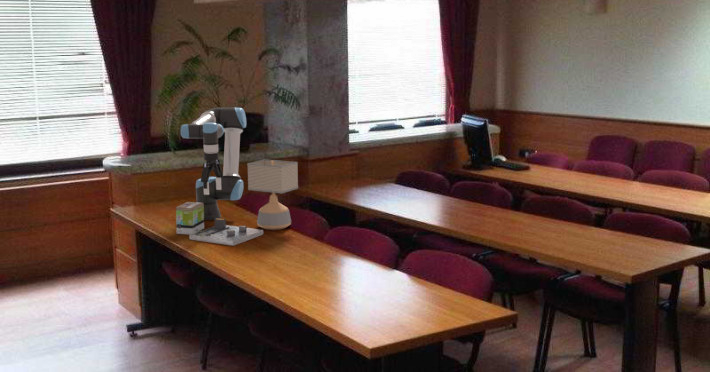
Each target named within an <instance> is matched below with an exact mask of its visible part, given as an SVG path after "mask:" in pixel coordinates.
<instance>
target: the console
mask: <svg viewBox="0 0 710 372" xmlns="http://www.w3.org/2000/svg"><path fill="white" fill-rule="evenodd" d="M263 235H264V229H259V228H250V227H247V225H240V226H237V225H236V226H235V225H228V224H226V228H224V229H215V225H214V226H212V227H209V228H206V229H205V228H204V229H202V230H200V231H198V232H194V233H193V234H188V237H189V240H191V241H198V242H204V243H206V242H207V243H211V244H212V243H213V244H217V245H226V246H233V247H235V246H236V245H239V244H241V243H245V242H247V241H249V240H252V239H255V238H258V237H261V236H263Z"/></svg>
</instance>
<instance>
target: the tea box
mask: <svg viewBox="0 0 710 372" xmlns="http://www.w3.org/2000/svg"><path fill="white" fill-rule="evenodd" d="M175 214H176V215H175V217H176V218H175V220H176V221H175V222H176V224H175V225H176V234H177V235H178V234H179V235H190V234H193V233H194V232H199V231H202V230H205V220H204V203H199V202H197V201H196V202H195V201H193V202H192V201H186V202H184V203H182V204H180V205H178V206H176V207H175Z"/></svg>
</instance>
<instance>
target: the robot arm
mask: <svg viewBox="0 0 710 372" xmlns="http://www.w3.org/2000/svg"><path fill="white" fill-rule="evenodd" d="M246 116H247V115H246V112H245V110H244V109H243V108H242V107H214V108H210V109H208V110H206V111H204V112H203V113H201V114H200V116H199V117H198V118H197V119H195V120H194V121H192V122H190V123H189V124H188V123H186V124H182V125H181V126H180V136H181V137H182V139H189V140H190V139H203V142H202V143H203V152H204V154H203V159H204V161H206V162H204V163H202V172H201V177H200V178H199V179H197V180H196V182H195V193H196V194H195V195H196V196H195V197H196V199H195V200H196V202H199V203H204V221H212V220H213V221H214V220H215V219H216V218H220V219H221V217H222V214H221V212H220V209H219V208H220V207H219V206H218V201H238V200H241V198H242V195H243V192H244V181H243V180H242V179H241V176H240V174H239V165H240V163H239V162H240V146H241V145H240V144H241V143H240V142H241V134H242V133H243V132H244V129H245V128H247V117H246ZM223 135H224V149H223V150H224V151H223V169H222V166H221V161H220V160H221V159H220V158H219V157H220V156H219V138H222V136H223ZM212 172H214V175H215V176H211V174H212Z"/></svg>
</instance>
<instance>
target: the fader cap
mask: <svg viewBox="0 0 710 372" xmlns="http://www.w3.org/2000/svg"><path fill="white" fill-rule="evenodd" d="M226 225H227V222H226V218H221V217H220V218H216V219H214V226H215V229H224V228H226Z"/></svg>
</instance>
